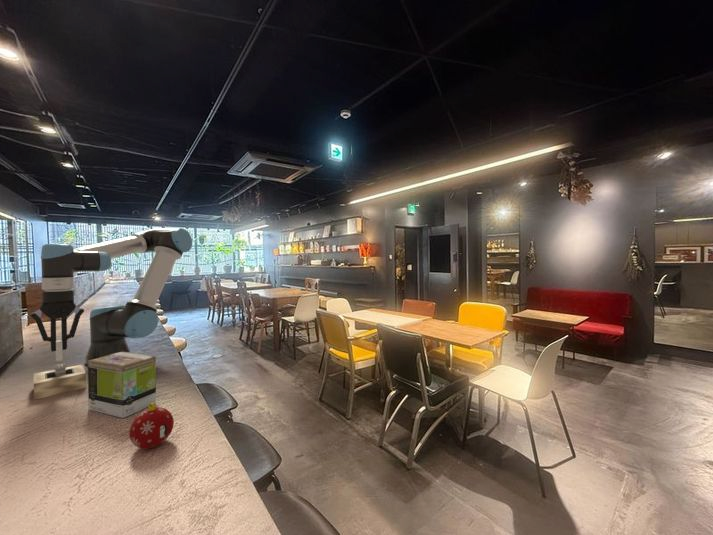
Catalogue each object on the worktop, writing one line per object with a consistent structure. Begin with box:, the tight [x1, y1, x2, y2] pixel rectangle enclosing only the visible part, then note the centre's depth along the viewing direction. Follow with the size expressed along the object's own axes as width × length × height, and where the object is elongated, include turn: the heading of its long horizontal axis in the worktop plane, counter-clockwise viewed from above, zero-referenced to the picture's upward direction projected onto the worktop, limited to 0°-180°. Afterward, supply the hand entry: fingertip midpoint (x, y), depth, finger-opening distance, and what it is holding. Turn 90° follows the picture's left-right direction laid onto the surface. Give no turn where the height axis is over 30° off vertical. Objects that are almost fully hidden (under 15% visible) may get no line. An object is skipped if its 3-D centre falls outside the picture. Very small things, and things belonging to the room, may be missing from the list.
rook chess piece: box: [53, 362, 68, 377], centre depth 101 cm, size 4×4×8 cm
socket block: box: [33, 364, 87, 400], centre depth 100 cm, size 12×12×5 cm
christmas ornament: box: [129, 403, 175, 450], centre depth 70 cm, size 9×9×10 cm
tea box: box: [87, 351, 157, 419], centre depth 88 cm, size 15×10×15 cm
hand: (59, 359), depth 100 cm, fingers closed
